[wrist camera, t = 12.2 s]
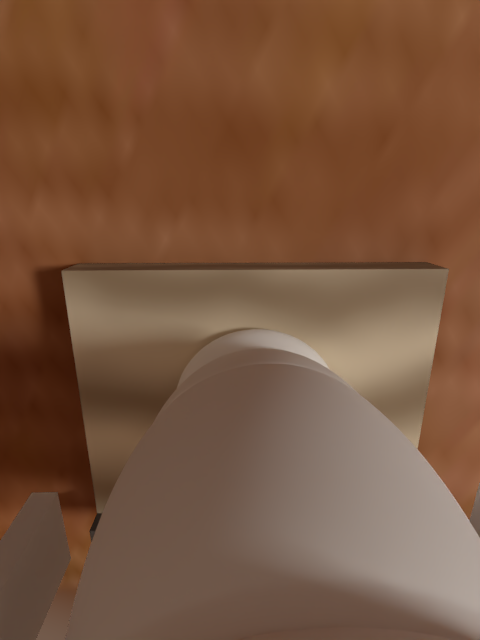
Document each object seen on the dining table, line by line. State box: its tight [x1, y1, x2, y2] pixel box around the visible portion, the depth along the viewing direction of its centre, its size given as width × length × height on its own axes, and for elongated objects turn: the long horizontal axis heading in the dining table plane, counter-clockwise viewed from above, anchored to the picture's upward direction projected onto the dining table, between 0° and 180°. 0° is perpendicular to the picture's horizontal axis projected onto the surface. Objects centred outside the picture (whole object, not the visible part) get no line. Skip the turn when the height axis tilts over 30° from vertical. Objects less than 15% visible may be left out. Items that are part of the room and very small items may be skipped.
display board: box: [61, 262, 449, 542], centre depth 20 cm, size 15×18×3 cm
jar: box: [65, 329, 480, 640], centre depth 12 cm, size 11×10×15 cm
